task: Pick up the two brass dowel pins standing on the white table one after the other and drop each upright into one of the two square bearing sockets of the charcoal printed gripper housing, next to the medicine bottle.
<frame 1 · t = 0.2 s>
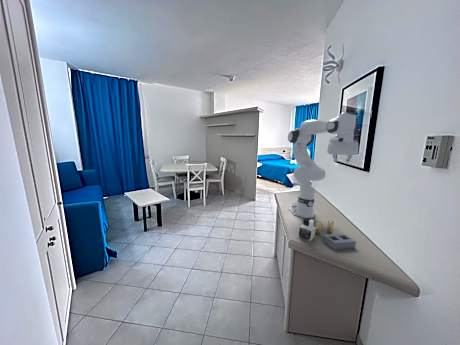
hand: (341, 161, 126), 47 cm above the table, fingers open, 8 cm apart
pin a: (329, 232, 133), on the table
housing: (338, 244, 119), on the table
pin b: (317, 233, 131), on the table
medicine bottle: (306, 237, 125), on the table
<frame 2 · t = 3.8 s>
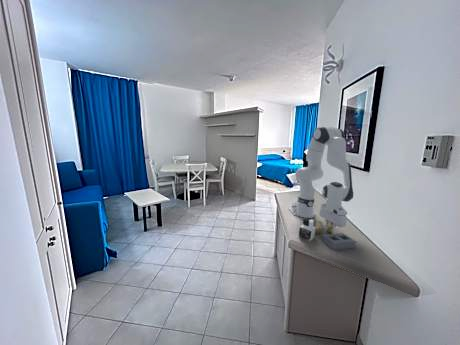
hand: (330, 227, 133), 4 cm above the table, fingers closed on pin a, 3 cm apart
pin a: (329, 232, 133), on the table, touching gripper
everything else where it was.
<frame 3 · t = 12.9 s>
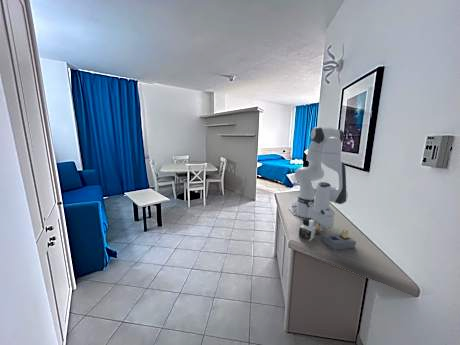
hand: (318, 228, 131), 4 cm above the table, fingers closed on pin b, 3 cm apart
pin a: (343, 243, 120), resting in housing
pin b: (317, 233, 131), on the table, touching gripper
everything else where it was.
when the fingers open (5 cm above the table, at t = 17.5 s): pin b drops 1 cm, resting in housing.
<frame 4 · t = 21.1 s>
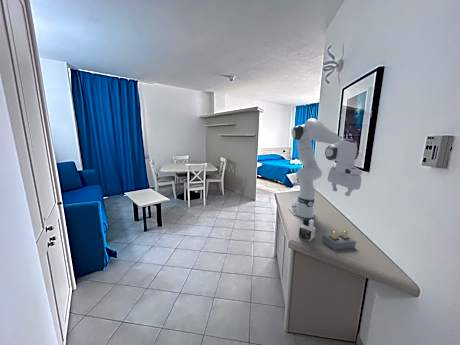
hand: (340, 193, 113), 31 cm above the table, fingers open, 8 cm apart
pin b: (333, 244, 118), resting in housing
everything else where it was.
at the end: pin a 0.1 cm from the target spot on the housing, point 0.0 cm above the housing's base; pin b 0.1 cm from the target spot on the housing, point 0.0 cm above the housing's base; pin b tilted 0° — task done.
